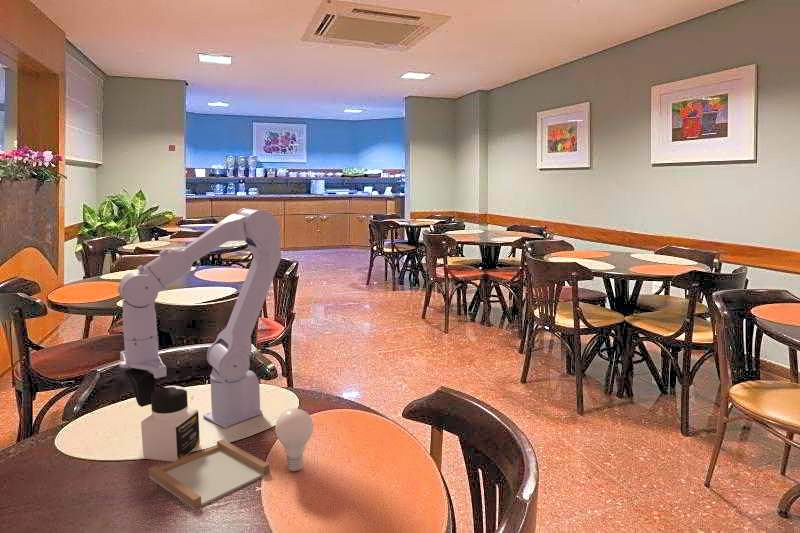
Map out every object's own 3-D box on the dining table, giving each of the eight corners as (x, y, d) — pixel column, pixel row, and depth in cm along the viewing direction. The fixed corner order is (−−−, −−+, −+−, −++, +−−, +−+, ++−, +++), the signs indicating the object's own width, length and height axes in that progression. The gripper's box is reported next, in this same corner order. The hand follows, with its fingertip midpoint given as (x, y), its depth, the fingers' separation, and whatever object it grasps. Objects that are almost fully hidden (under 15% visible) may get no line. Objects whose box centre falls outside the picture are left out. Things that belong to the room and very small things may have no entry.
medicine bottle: (178, 463, 98) (174, 398, 96) (142, 459, 99) (138, 395, 97) (200, 444, 105) (197, 384, 103) (166, 440, 106) (163, 380, 104)
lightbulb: (320, 464, 98) (319, 405, 96) (302, 483, 92) (301, 420, 91) (288, 458, 100) (287, 400, 98) (269, 475, 94) (267, 414, 93)
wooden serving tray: (222, 447, 104) (222, 439, 104) (269, 473, 95) (269, 464, 95) (149, 477, 93) (148, 468, 93) (194, 509, 84) (193, 500, 84)
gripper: (102, 333, 107) (107, 400, 109) (137, 348, 97) (142, 422, 100) (139, 326, 112) (143, 390, 114) (175, 340, 103) (179, 409, 105)
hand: (145, 404), depth 107 cm, fingers closed
